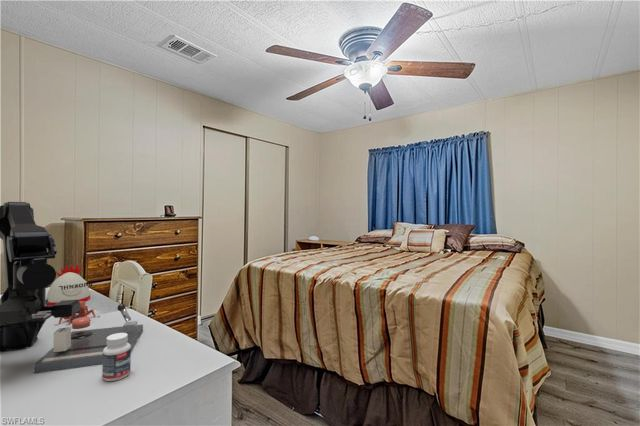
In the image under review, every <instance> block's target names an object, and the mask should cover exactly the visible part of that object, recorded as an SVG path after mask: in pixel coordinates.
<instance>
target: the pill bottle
mask: <svg viewBox="0 0 640 426" xmlns="http://www.w3.org/2000/svg"><path fill="white" fill-rule="evenodd" d="M127 341H128V334H127V333H116V334H112V335H110V336H108V337H107V341H106V343H107V345H108V346H107V347H105V348H104V350H103V364H102V367H101V368H102V373H101V375H102V376H101V377H102V380H103V381H105V382H113V381H114V382H115V381H119V380H122V379H124V378H126V377H127V376H129V374H130V373H131V361H132V359H131V358H132V357H131V356H132V355H131V353H132V350H131V346H130V344H129V343H127Z"/></svg>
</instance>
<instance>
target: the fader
mask: <svg viewBox="0 0 640 426" xmlns="http://www.w3.org/2000/svg"><path fill="white" fill-rule="evenodd" d="M71 332H72V326H68V327H67V326H66V327H59V328H58V329H56V330H55V331H53V348H54V352H61V351H66V350H67V349H68V348H69V347H70V346H71Z"/></svg>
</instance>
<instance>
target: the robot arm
mask: <svg viewBox="0 0 640 426" xmlns="http://www.w3.org/2000/svg"><path fill="white" fill-rule="evenodd" d="M34 214H35V213H34V208H33V207H31V203H29V202H26V201H7V202H4V203H3V204H2V205H0V239H1V240H2V244H3V245H2V247H3V248H2V249H3V258H4V259H3V260H4V275H5V290H4V292H3V294H2V295H1V297H0V352H3V351H4V352H5V351H12V350H22V349H26V348H32V347H33V346H34V345H35V342H36V341H38V339H39V337H38V336H39V333H40V331H41V329H42V327H43V325H44V324H45V322H46V321H47V320H48V319H50V318H51V317H53V318H55V319H58V318H59V319H60V317H69V316H72V315H74V314H75V313H76V312H78V311H79V310H80V302H79V301H78V300H64V301H60V302H58V303H57V304H55V305H50V306H47V305H46V304H48V299H46V297H47V294H46V293H47V292H46V289H48V288H49V286H51V285H52V284H53V282H54V281H55V280H56V279H57V278H56V277H57V273H56V270H55V268H54V267H53V266H52V265H50V264H48V260H49V259H56V255H57V252H58V250H57V247H56V243H55V239H54V238H53V236H52V234H49V232H48V230H47V229H46V227H44V226H41V225H37V223H36V220H35V215H34Z"/></svg>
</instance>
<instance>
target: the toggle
mask: <svg viewBox="0 0 640 426" xmlns="http://www.w3.org/2000/svg"><path fill="white" fill-rule="evenodd" d="M116 309H117V311H119V312H120V313H121V315H122V317H123V319H124V321H125V323H126V322H130V321H132V318H131V316H130V314H129V312H128V311H127V309H126V304H124V303H120V304H118V305H117V307H116Z"/></svg>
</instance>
